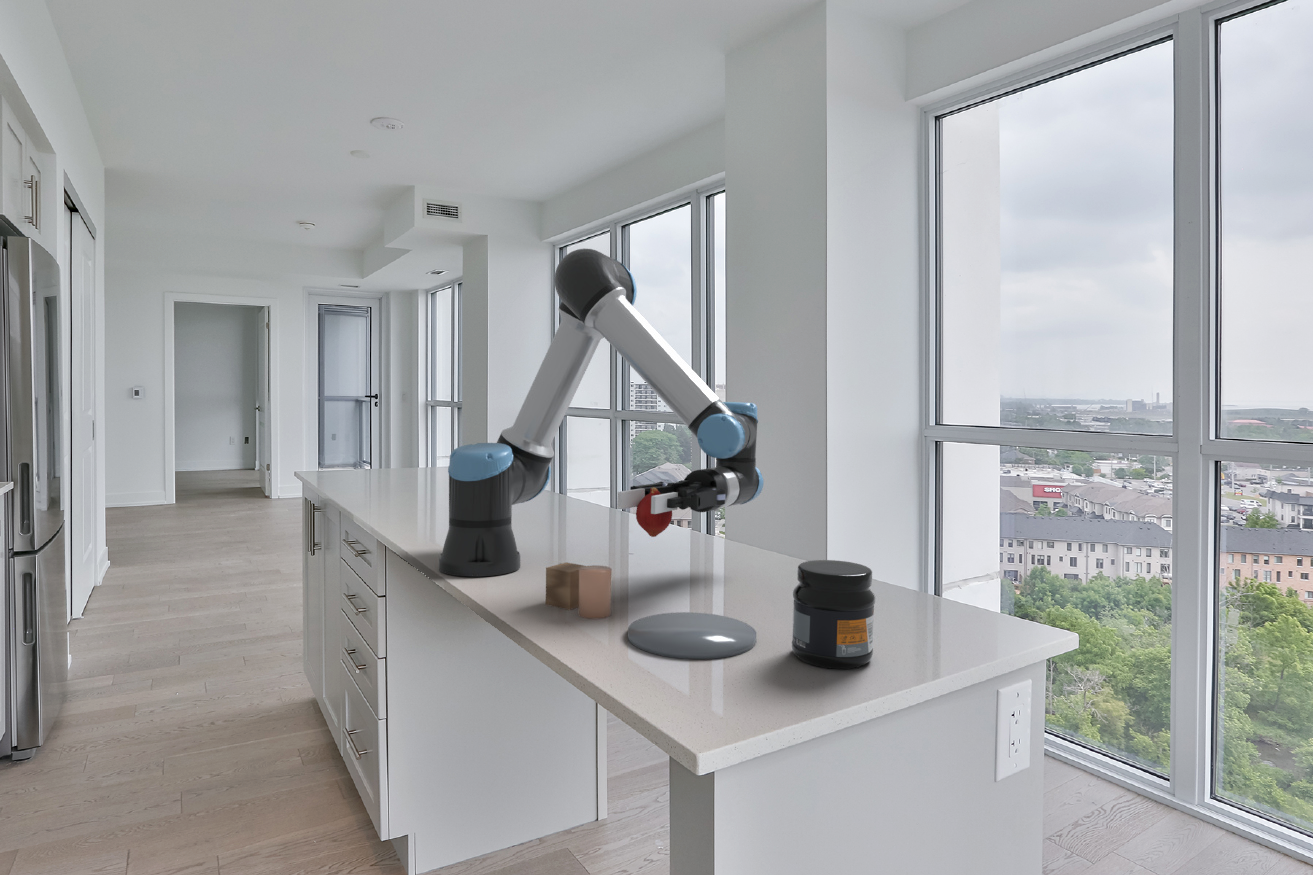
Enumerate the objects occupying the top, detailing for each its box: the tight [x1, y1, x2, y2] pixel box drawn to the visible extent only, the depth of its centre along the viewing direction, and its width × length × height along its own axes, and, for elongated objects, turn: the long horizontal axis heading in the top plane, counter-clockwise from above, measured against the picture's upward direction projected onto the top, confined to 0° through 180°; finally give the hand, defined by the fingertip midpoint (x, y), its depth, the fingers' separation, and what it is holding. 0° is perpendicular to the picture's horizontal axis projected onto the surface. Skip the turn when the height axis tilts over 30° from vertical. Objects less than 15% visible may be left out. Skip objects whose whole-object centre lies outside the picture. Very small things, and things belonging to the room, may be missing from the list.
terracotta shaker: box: [577, 565, 613, 620], centre depth 122 cm, size 5×5×7 cm
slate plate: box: [627, 611, 757, 660], centre depth 111 cm, size 18×18×1 cm
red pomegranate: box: [635, 487, 673, 538], centre depth 127 cm, size 6×6×8 cm
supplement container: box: [791, 559, 876, 670], centre depth 104 cm, size 10×10×12 cm
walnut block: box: [545, 562, 585, 611], centre depth 127 cm, size 5×5×6 cm
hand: (636, 502), depth 123 cm, fingers closed on red pomegranate, 6 cm apart
